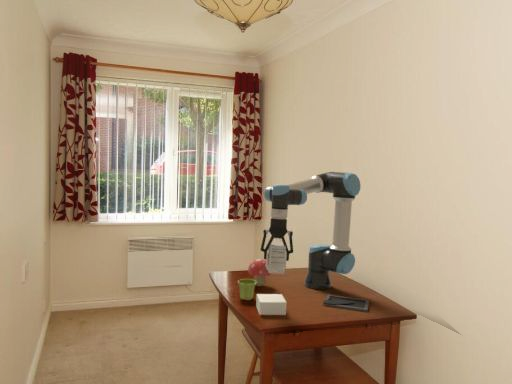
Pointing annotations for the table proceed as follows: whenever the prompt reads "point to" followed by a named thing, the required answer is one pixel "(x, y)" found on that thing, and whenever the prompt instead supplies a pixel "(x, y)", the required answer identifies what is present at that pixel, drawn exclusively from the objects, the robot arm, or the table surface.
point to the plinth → (271, 304)
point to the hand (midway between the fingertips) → (275, 266)
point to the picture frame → (346, 303)
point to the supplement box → (276, 258)
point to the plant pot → (246, 288)
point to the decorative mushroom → (258, 271)
